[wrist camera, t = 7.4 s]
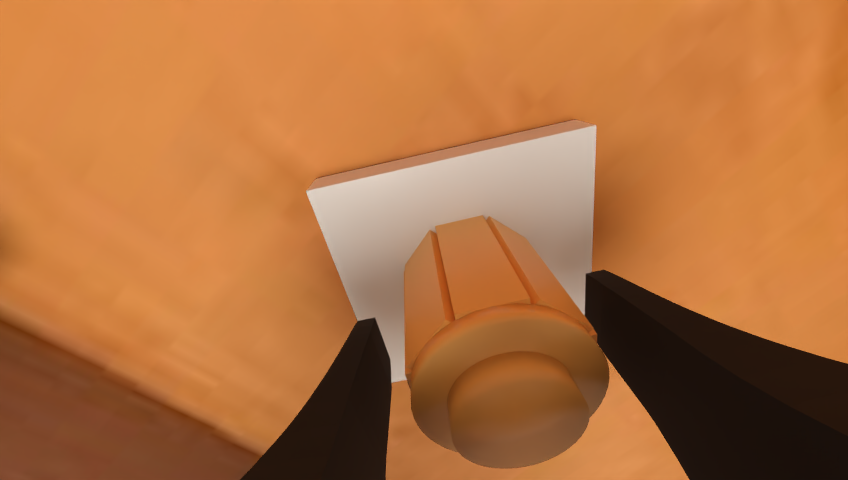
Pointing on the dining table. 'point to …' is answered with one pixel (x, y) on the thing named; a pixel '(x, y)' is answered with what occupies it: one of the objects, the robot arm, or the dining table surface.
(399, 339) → the white base
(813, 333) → the dining table surface
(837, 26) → the dining table surface
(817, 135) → the dining table surface
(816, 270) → the dining table surface
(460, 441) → the ribbed domed knob
